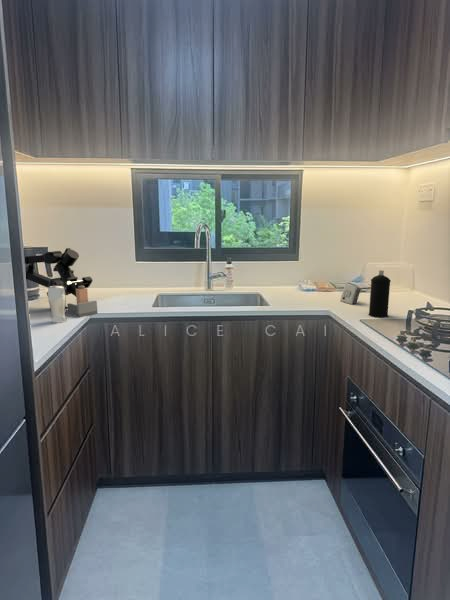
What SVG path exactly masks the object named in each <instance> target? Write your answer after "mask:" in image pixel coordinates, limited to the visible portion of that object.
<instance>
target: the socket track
mask: <svg viewBox="0 0 450 600" xmlns="http://www.w3.org/2000/svg"><path fill="white" fill-rule="evenodd" d="M66 307H68V308H67V309H65V315H66V314H67V315H70V316H74V317H78V318H83V317H87V316H92V315H96V314H98V302H97V300H91V301H89V300H88V302H83V303H78V304H77V303H76V304H74V303H67V305H66Z"/></svg>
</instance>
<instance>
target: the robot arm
mask: <svg viewBox="0 0 450 600" xmlns="http://www.w3.org/2000/svg"><path fill="white" fill-rule="evenodd" d="M79 257H80V255H79V253H78V252H77V251H76V250H74V249H72V248H71V247H67V248H66V249H65V250H64V252H63V253H62V251H61V250H54V251H48V252H45V253H43V254H37V255H36V254H35V255H25V263H26V279H27V280H26V281H30V282H32V283H35V284H38V285H40V286H43V287H44V288H45V287H46V288H47V289H48V287H50V286H64V287H65V293H66V296H69V295H71V294H72V295H73V297H76V289H78V286H85V288H87V289H88V288H90V286H91V284H92V283H93V278H92V277H91V276H85V277H84V276H82V277H81V279H80V280H78V279H79V278H78V276H75V274H74V272H75V271H74V270H73V269H71V267H74V265H75V264H76V262H77V260H78V259H79ZM38 263H45V264H47V265H48V264H49V265H53V264H54V267H53V269H52V271H53V272H57V273H58V275H59V277H55V278H50V277H48V276H45V275H43V274H40V273H37V272H35V271H34V270H35V265H34V264H38ZM46 295H47V297H48V291H47V292H46ZM49 309H50V310H51V308H50V307H49ZM67 309H68V306H67V305H65V310H67Z"/></svg>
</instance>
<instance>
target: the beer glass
mask: <svg viewBox="0 0 450 600" xmlns="http://www.w3.org/2000/svg"><path fill="white" fill-rule="evenodd" d="M47 292H48V296H47V298H48V299H47V300H48V304H49V309H50V308H51V309H50V311H51V323H52V324H63V323H66V322H67V316H66V311H65V310H66V309H65V305H66V303H67V295H66V293H65V287H64V286H50V287H48V288H47ZM66 306H67V305H66Z"/></svg>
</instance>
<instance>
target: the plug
mask: <svg viewBox="0 0 450 600" xmlns="http://www.w3.org/2000/svg"><path fill="white" fill-rule="evenodd" d="M88 296H89V295H88V288H85V286H78V289H76V298H75V299H76V305H77V304H78V303H83V302H89V297H88Z"/></svg>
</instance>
